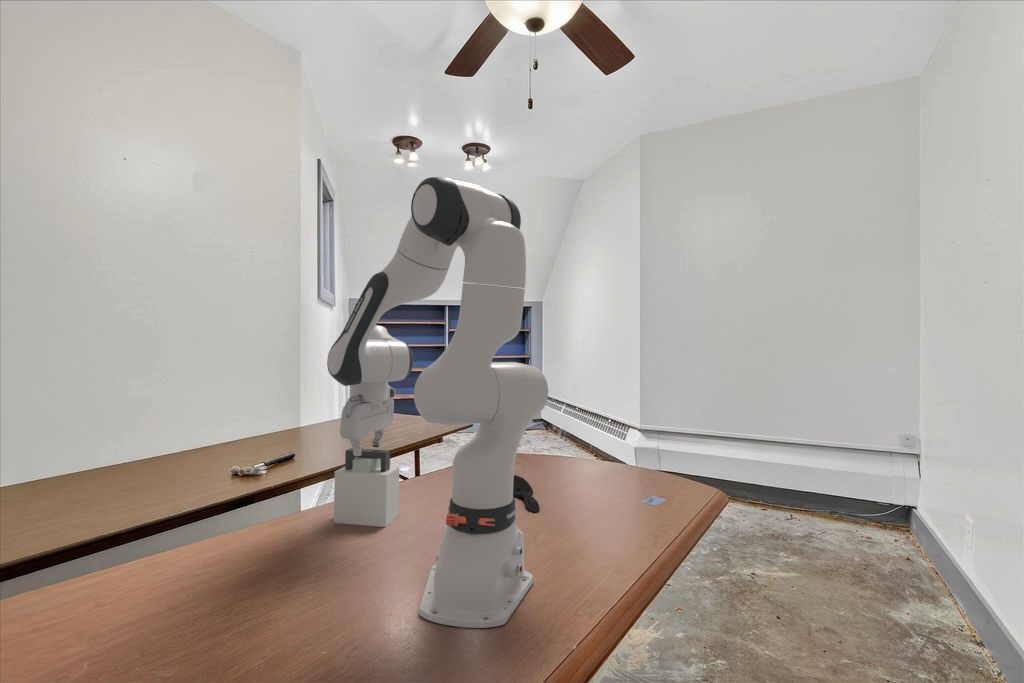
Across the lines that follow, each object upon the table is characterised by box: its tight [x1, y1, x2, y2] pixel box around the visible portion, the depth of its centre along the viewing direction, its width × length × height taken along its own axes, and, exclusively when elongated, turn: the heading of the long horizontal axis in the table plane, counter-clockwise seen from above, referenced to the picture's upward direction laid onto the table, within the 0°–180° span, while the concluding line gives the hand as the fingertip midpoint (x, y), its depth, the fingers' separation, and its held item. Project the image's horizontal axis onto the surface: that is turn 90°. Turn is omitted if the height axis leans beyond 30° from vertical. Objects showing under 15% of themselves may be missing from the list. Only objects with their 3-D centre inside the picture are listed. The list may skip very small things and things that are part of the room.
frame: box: [344, 447, 391, 472], centre depth 113 cm, size 10×2×4 cm, turn 80°
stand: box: [333, 457, 400, 528], centre depth 113 cm, size 13×7×15 cm, turn 80°
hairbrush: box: [513, 473, 541, 514], centre depth 131 cm, size 8×4×25 cm
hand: (368, 451), depth 113 cm, fingers open, 8 cm apart
